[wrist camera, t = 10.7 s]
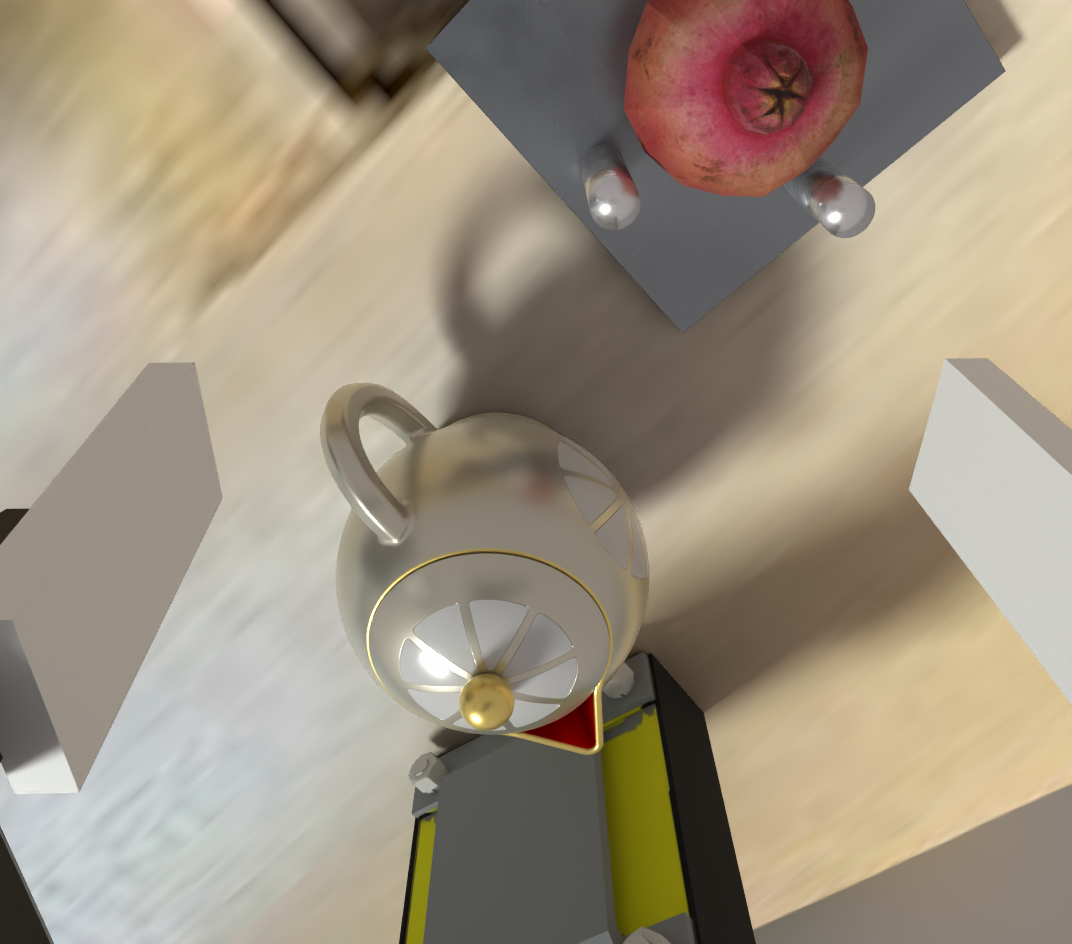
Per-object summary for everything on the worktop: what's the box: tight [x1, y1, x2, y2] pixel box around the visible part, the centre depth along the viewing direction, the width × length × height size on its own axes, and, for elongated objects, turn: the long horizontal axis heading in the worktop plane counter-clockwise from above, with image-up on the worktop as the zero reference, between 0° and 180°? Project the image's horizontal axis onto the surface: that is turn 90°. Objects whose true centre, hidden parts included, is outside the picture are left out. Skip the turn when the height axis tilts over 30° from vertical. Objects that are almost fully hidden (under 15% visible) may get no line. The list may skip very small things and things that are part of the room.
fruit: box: [624, 0, 868, 197], centre depth 30 cm, size 8×8×10 cm
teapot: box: [320, 383, 649, 755], centre depth 38 cm, size 18×14×16 cm
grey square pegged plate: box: [426, 0, 1005, 333], centre depth 32 cm, size 16×16×7 cm
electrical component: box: [399, 652, 756, 944], centre depth 47 cm, size 18×10×20 cm, turn 126°
